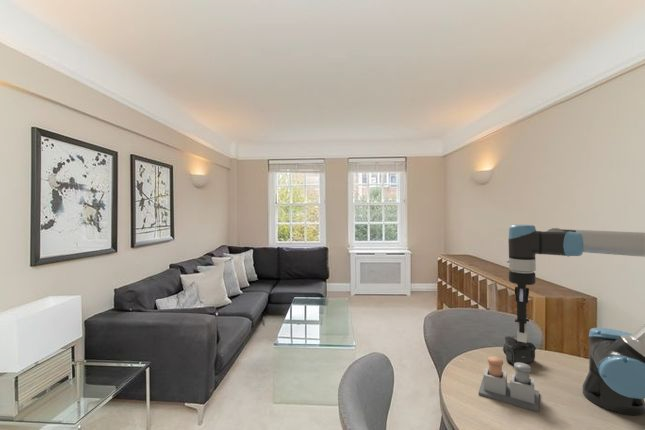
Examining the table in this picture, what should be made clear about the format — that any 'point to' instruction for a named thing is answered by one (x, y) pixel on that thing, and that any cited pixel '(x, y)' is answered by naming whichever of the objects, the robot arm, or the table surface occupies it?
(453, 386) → the table surface
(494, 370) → the plug terracotta
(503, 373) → the panel
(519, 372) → the plug grey
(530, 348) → the camera
